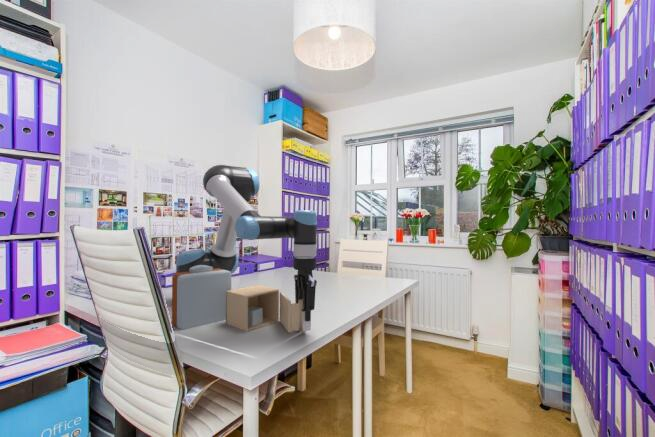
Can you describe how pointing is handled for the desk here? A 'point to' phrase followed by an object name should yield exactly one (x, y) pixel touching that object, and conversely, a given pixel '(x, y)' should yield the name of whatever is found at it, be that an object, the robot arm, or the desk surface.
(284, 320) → the flap
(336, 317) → the desk surface
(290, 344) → the desk surface
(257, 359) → the desk surface
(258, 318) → the contents block
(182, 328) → the grey rounded slab
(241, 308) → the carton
